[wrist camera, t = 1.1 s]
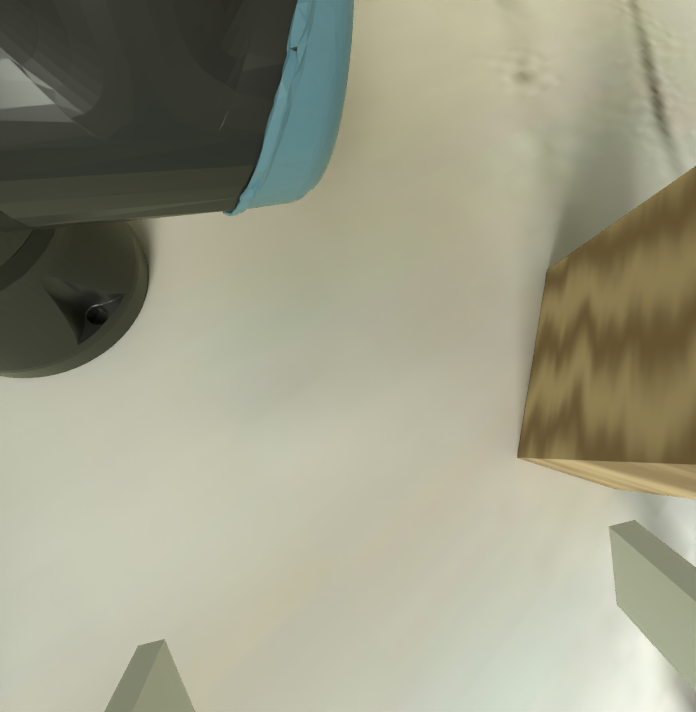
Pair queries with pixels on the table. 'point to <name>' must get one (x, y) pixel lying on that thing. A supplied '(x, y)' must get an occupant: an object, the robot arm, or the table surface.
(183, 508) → the table surface
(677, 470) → the tall stand
